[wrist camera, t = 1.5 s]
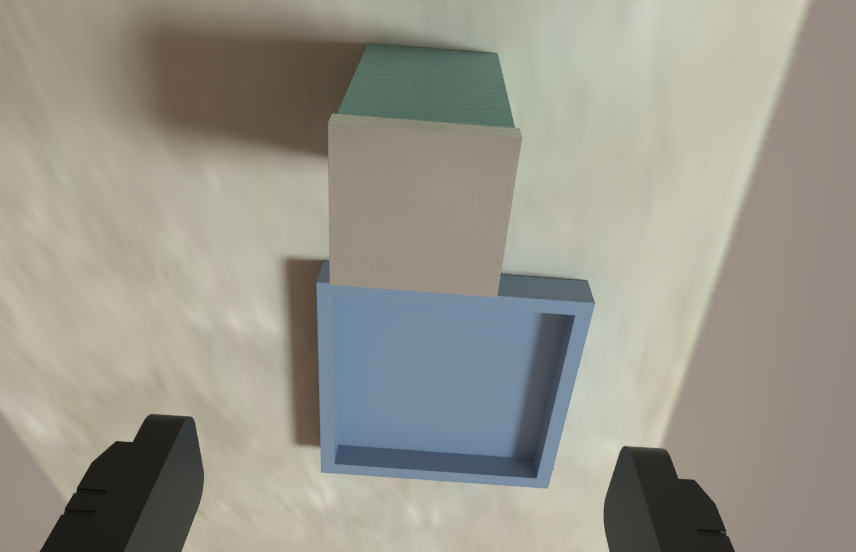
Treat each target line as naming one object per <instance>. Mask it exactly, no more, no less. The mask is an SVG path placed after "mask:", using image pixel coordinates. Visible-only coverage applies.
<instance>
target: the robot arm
mask: <svg viewBox="0 0 856 552" xmlns="http://www.w3.org/2000/svg"><path fill="white" fill-rule="evenodd" d="M203 483H204V471H203V465H202V459H201V453H200V448H199V442H198V437H197V431H196V425H195V421H194V419H193V418H192V417H189V416H174V415H159V414H150V415H149V416H147V417H146V419H145V420H144V422H143V424H142V425H141V427H140V429H139V431H138V433H137V435H136V437H135V439H134V440H133V442H121V441H116V442H115V443H114V444H112V445H111V446H110V447H109V448H108V449H107V450H106V451H104V452H103V453H102V454H101V455H100V456H99V457H98V458H97V459H95V460H94V461H93V462H92V463H91V465H90V467H89V468H88V470H87V472H86V473H85V475H84V477H83V479H82V480H81V482H80V484H79V485H78V487H77V492H76V493H74V494H73V496H72V497H71V499H70V501H69V503H68V504H67V506H66V508H65V512H64V514H63V515H61V516H60V518H59V520H58V521H57V523H56V525H55V527H54V528H53V530H52V532H51V533H50V535H49V537H48V538H47V540H46V542H45V544H44V546H43V547H42V549H41V550H40V552H181V551H182V548H183V546H184V543H185V541H186V538H187V535H188V533H189V530H190V528H191V525H192V522H193V520H194V517H195V514H196V512H197V509H198V506H199V504H200V500H201V496H202V491H203ZM604 527H605V533H606V538H607V542H608V547H609V551H610V552H735V551H734V549H733V546H732V544H731V541H730V539H729V537H728V536H726V529H725V527H724V524H723V522H722V519H721V517H720V514H719V512H718V509H717V507H716V505H715V503H714V502H713V501H712V500H711V499H710V497H709V496H708V495H707V494H706V493H705V492H704V490H703V489H702V488H701V487H700V486H699V485H698V483H697V482H696V481H695V480H688V479H678V477H677V474H676V471H675V468H674V466H673V463H672V460H671V458H670V455H669V453H668V452H667V451H666V450H665V449H661V448H646V447H630V446H624V447H623V448H622V449H621V451H620V454H619V457H618V460H617V463H616V466H615V469H614V472H613V476H612V479H611V482H610V485H609V488H608V491H607V494H606V498H605V503H604Z"/></svg>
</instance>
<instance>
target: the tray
mask: <svg viewBox="0 0 856 552" xmlns="http://www.w3.org/2000/svg"><path fill="white" fill-rule="evenodd" d="M316 284H317V324H318V365H319V405H320V446H321V472H324V473H338V474H352V475H366V476H380V477H394V478H408V479H422V480H436V481H450V482H464V483H478V484H492V485H506V486H520V487H534V488H548V486H549V482H550V478H551V474H552V470H553V466H554V462H555V458H556V454H557V450H558V447H559V443H560V439H561V435H562V431H563V427H564V423H565V419H566V415H567V411H568V407H569V403H570V399H571V395H572V391H573V387H574V384H575V380H576V376H577V372H578V368H579V364H580V360H581V356H582V352H583V348H584V344H585V340H586V336H587V332H588V328H589V324H590V321H591V317H592V313H593V309H594V305H595V302H594V299H593V296H592V293H591V290H590V286H589V283H588V281H583V280H569V279H556V278H543V277H530V276H517V275H503V274H501V276H500V282H499V289H498V295H497V297H484V296H471V295H458V294H444V293H431V292H418V291H405V290H391V289H378V288H365V287H352V286H338V285H330V261H323V263H322V266H321V269H320V273H319V276H318V279H317V282H316Z"/></svg>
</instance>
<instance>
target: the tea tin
mask: <svg viewBox="0 0 856 552" xmlns="http://www.w3.org/2000/svg"><path fill="white" fill-rule="evenodd" d="M521 140H522V136H521V132H520V128H515V126H514V122H513V117H512V113H511V109H510V104H509V100H508V96H507V92H506V87H505V83H504V79H503V74H502V70H501V66H500V61H499V57H498V54H496V53H484V52H471V51H459V50H447V49H434V48H422V47H409V46H397V45H384V44H372V43H368V44H367V47H366V49H365V51H364V53H363V56H362V58H361V60H360V62H359V65H358V67H357V69H356V71H355V74H354V76H353V78H352V81H351V83H350V85H349V87H348V90H347V92H346V94H345V96H344V99H343V101H342V103H341V105H340V108H339V110H338V112H337V114H332V115H331V117H330V119H329V121H328V174H329V261H330V285H338V286H352V287H365V288H378V289H391V290H405V291H418V292H431V293H444V294H458V295H471V296H484V297H497V295H498V289H499V282H500V276H501V270H502V263H503V257H504V250H505V244H506V237H507V231H508V224H509V218H510V211H511V205H512V199H513V192H514V186H515V179H516V173H517V166H518V160H519V153H520V147H521Z"/></svg>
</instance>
